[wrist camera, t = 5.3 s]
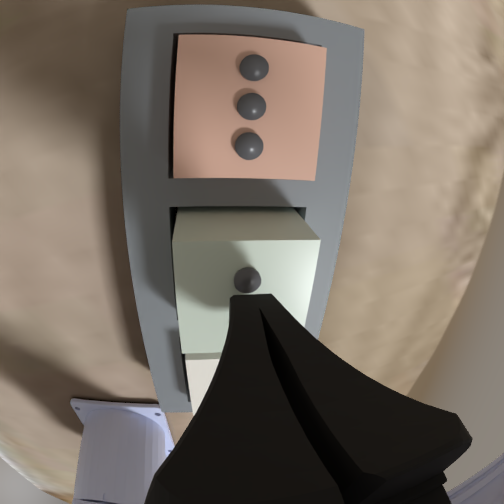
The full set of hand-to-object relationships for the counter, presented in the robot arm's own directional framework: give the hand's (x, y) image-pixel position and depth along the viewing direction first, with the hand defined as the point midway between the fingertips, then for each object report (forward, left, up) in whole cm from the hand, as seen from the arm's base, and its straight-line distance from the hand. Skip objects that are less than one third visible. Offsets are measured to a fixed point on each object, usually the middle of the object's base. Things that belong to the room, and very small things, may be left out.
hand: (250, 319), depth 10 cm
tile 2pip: (0, 0, -5) cm, 5 cm away
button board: (0, 0, -7) cm, 7 cm away
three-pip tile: (+7, 0, -6) cm, 9 cm away
